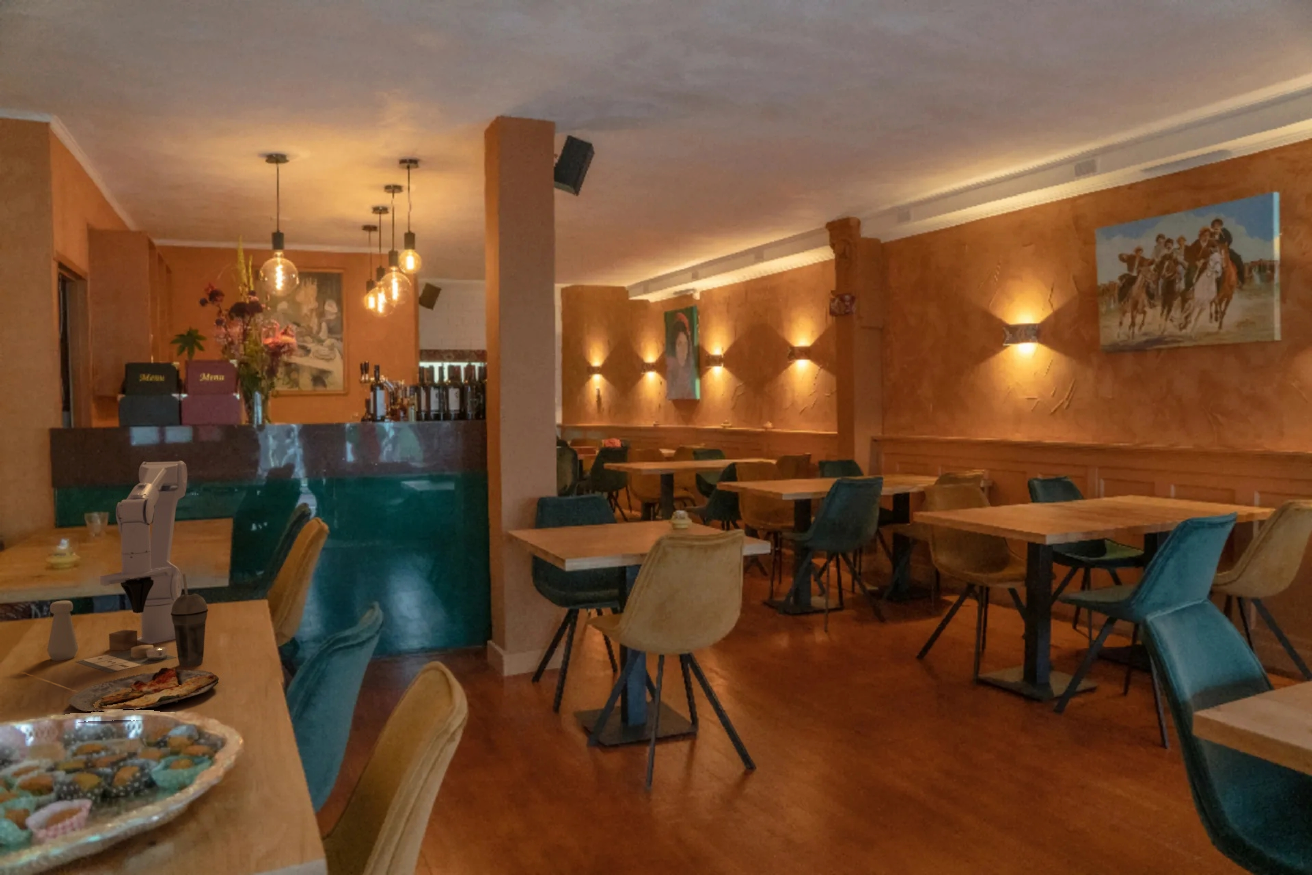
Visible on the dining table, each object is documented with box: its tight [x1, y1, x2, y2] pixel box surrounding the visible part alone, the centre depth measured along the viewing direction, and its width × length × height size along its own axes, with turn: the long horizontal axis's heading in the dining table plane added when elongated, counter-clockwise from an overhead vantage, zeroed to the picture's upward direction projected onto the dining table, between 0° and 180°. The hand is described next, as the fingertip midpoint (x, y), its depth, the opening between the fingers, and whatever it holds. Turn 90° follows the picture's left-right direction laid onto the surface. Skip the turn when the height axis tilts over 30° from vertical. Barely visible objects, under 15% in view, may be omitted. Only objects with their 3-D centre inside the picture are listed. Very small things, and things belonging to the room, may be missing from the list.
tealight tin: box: [146, 646, 168, 662], centre depth 203 cm, size 4×4×2 cm
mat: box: [75, 649, 178, 674], centre depth 203 cm, size 14×16×1 cm
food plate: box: [68, 666, 219, 712], centre depth 175 cm, size 25×23×4 cm
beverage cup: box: [171, 573, 209, 668], centre depth 198 cm, size 7×7×20 cm
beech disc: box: [130, 644, 154, 659], centre depth 206 cm, size 4×4×2 cm
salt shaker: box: [46, 600, 79, 662], centre depth 205 cm, size 6×6×13 cm
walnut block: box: [108, 629, 139, 651], centre depth 214 cm, size 4×4×4 cm
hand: (138, 612), depth 207 cm, fingers closed
